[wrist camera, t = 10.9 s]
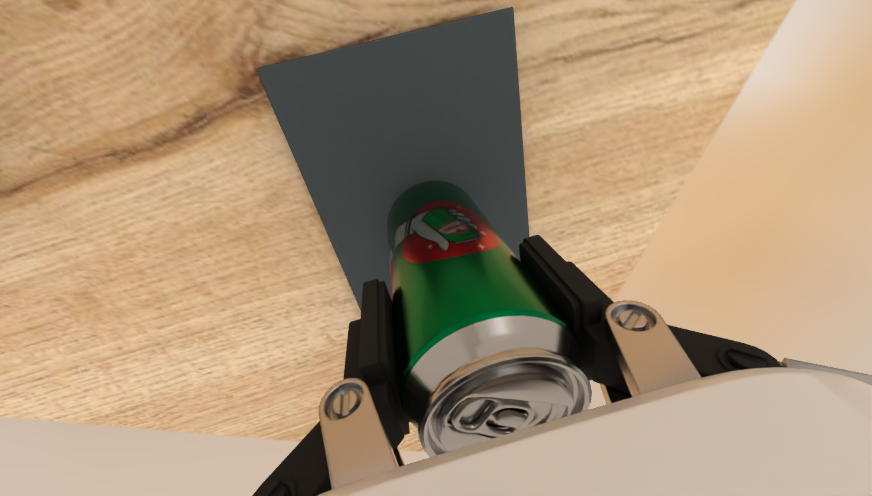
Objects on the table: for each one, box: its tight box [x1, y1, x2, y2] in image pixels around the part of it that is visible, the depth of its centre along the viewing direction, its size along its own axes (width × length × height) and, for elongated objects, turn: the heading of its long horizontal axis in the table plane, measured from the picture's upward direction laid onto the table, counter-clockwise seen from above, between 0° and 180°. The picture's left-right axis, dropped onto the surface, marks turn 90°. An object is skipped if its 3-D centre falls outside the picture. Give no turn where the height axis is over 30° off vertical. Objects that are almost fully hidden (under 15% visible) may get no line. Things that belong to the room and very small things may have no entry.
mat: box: [256, 7, 529, 310], centre depth 19 cm, size 18×12×1 cm, turn 12°
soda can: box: [387, 181, 592, 457], centre depth 13 cm, size 5×5×12 cm
